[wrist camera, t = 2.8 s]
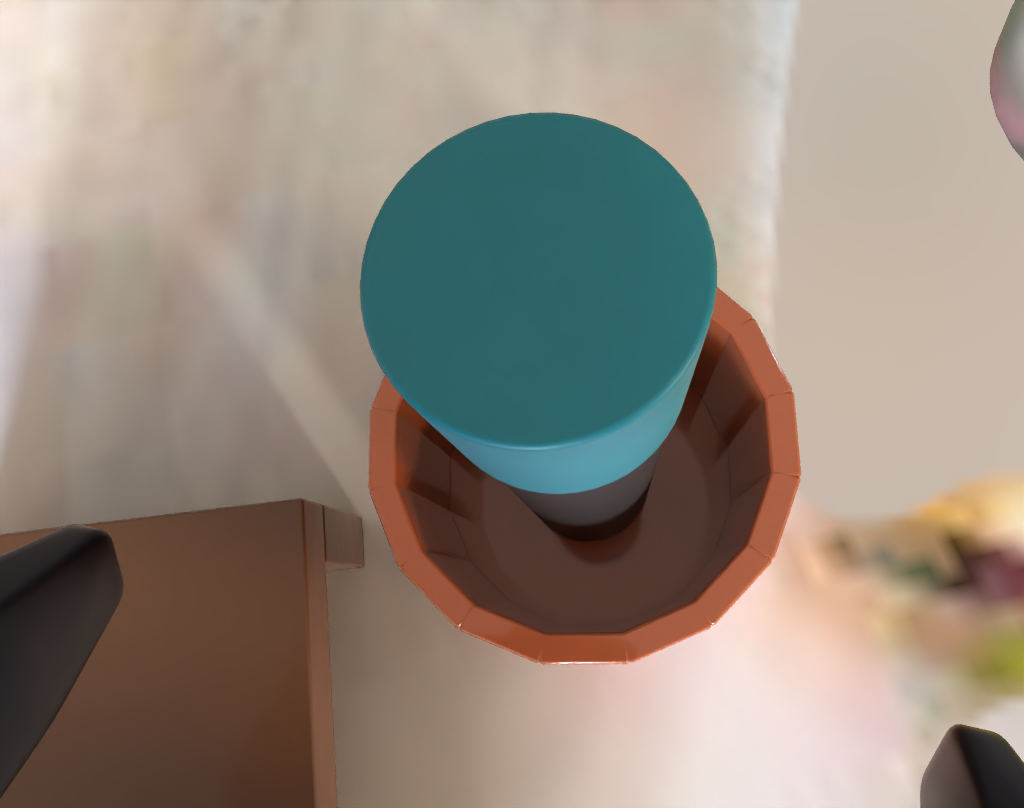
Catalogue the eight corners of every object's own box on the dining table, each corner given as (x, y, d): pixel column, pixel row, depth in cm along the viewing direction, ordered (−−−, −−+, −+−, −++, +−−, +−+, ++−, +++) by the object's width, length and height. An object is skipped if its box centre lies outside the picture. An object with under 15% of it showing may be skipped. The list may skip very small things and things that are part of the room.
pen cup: (596, 717, 19) (588, 764, 14) (371, 489, 21) (285, 451, 15) (818, 475, 19) (893, 429, 14) (581, 272, 21) (568, 164, 16)
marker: (590, 573, 19) (539, 530, 7) (496, 482, 20) (287, 287, 7) (680, 477, 19) (797, 256, 7) (584, 390, 20) (528, 46, 8)
